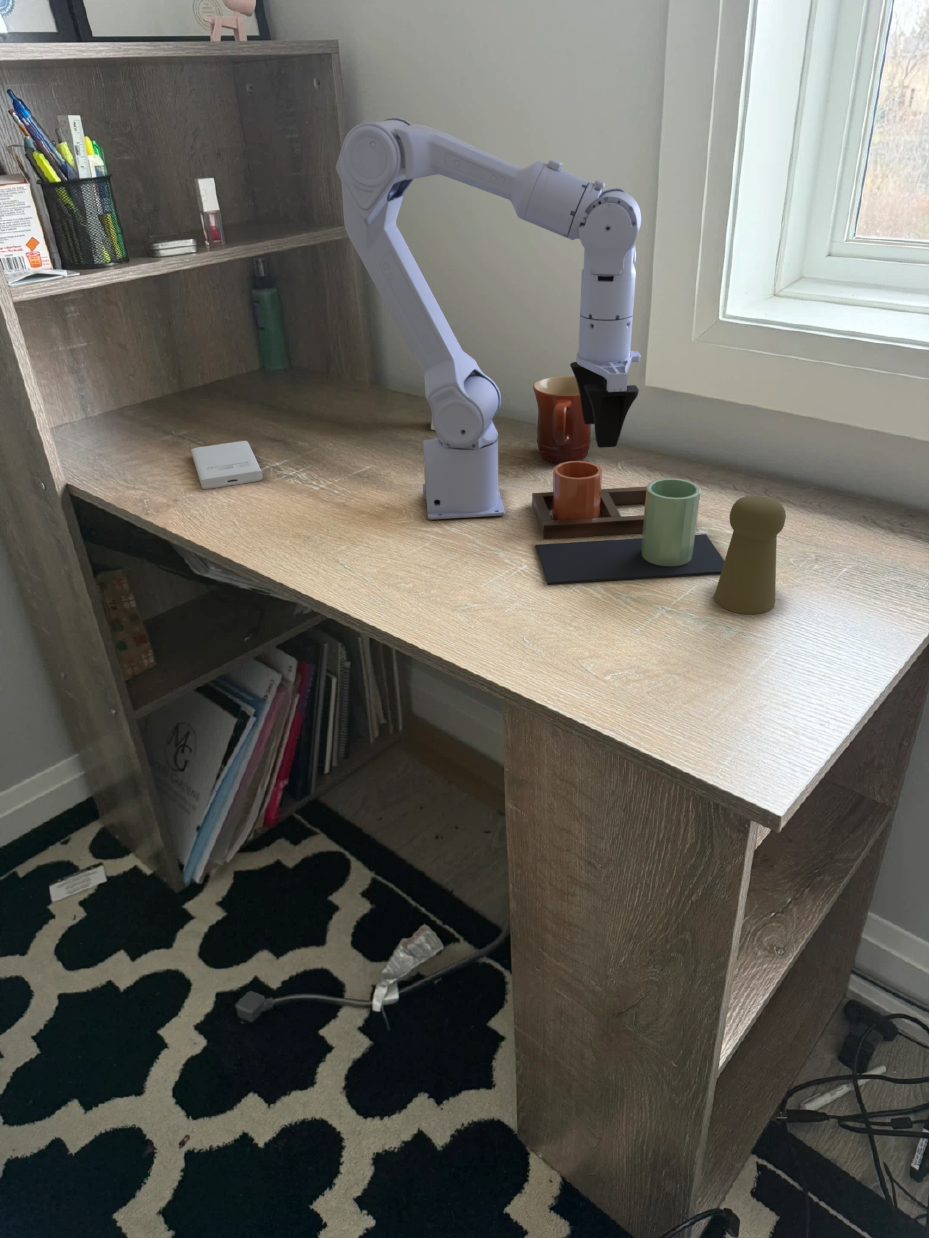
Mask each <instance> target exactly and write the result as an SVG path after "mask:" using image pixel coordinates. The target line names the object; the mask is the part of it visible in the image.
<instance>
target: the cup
mask: <svg viewBox="0 0 929 1238" xmlns="http://www.w3.org/2000/svg"><path fill="white" fill-rule="evenodd" d="M701 489H702V488H701V487H700V486H699V485H698V484H696V483H695V482H692V481H691V480H687V479H683V478H674V477H669V478H659V479H656V480H655V479H654V480H652V481H650V482H648V484H647V488H646V500H645V503H644V511H643V515H644V523H643V533H642V534H641V535H642V537H641V538H642V547H641V550H642V551H641V554H642V557H643V558H644V559H645V560H646V561H648V562H650V563H653V564H656V565H660V566H680V565H684V564H686V563H688V562H690V561H691V559H692V557H693V550H694V542H695V535H696V531H697V524H698V516H699V508H700V499H701Z"/></svg>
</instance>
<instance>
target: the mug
mask: <svg viewBox="0 0 929 1238" xmlns="http://www.w3.org/2000/svg"><path fill="white" fill-rule="evenodd" d="M532 388H533V392H534V395H535V399H536V403H537V404H536V405H537V431H536V432H537V434H536V435H537V438H536V444H537V450H538V455H539V456H540V458H542V459H543V460H544V461H546V462H548V463H550V464H555V465H558V464H560V463H564V462H568V461H583V460H584V459H585V458H587V456H588V455H589V450H590V448H591V447H590V446H591V442H592V439H591V433H592V424H585V422H584V419H583V414H582V407H581V400H580V394H579V389H578V385H577V381H576V378H575V375H558V376H555V375H554V376H549V377H545V378H541V379H539V380H537V381H535V382H533V385H532Z"/></svg>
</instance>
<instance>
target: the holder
mask: <svg viewBox="0 0 929 1238" xmlns="http://www.w3.org/2000/svg"><path fill="white" fill-rule="evenodd" d="M646 488H647V486H632V487H630V486H629V487H615V488H614V487H613V488H601V498H600V513H601V514H602V516H603V517H599V518H588V519H571V520H554V521H553V518H552V517H551V514H550V511H549V510H552V508H553V491H544V492H532V493H531V507H532V510H533V512H534V516H535V519H536V522H537V525H538V528H539V531H540V533H541V536H542V539H543V540H548V539H549V540H550V539H563V538H565V539H567V538H585V537H599V536H616V535H632V534H643V523H644V514H642V515H641V514H640V515H624V516H623V515H621V513H620V512H619V510H618V508H617V506H620V505H621V506H622V505H637V504H645V500H646Z"/></svg>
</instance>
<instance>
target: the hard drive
mask: <svg viewBox="0 0 929 1238" xmlns="http://www.w3.org/2000/svg"><path fill="white" fill-rule="evenodd" d="M190 451H191V452H190V453H191V456H192V457H191V458H192V460H193V464H194V466H195V469H196V474H197V475H198V480H199V482H200V486H201V489H202V490H211V489H216V488H223V487H229V486H235V485H242V484H248V483H254V482H255V483H256V482H260V481H262V480H263V479H264V478H263V471H262V469H261V467H260V465H259V462H258V461H257V458H256V456H255V454H254V452H253V449H252V447H251V444H250V443H249V441H247V440H240V441H233V442H227V443H219V444H212V445H205V446H199V447H194V448H191V450H190Z"/></svg>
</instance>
